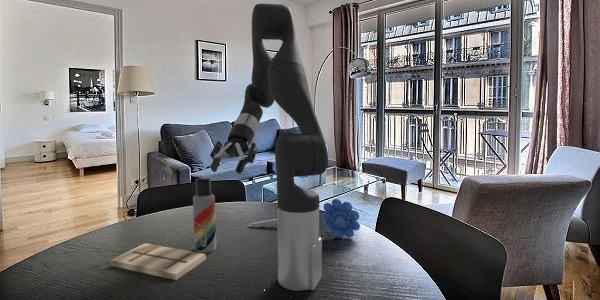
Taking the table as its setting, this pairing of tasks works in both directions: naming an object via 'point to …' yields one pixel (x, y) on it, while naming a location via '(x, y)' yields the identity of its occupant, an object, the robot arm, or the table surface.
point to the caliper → (264, 223)
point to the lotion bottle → (204, 217)
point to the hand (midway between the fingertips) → (225, 171)
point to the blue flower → (340, 218)
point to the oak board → (159, 261)
